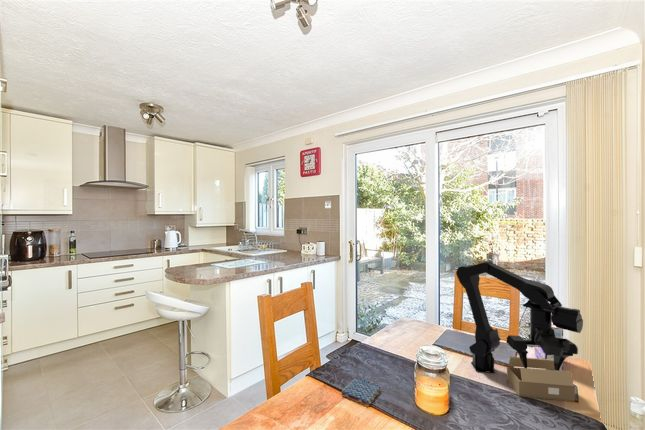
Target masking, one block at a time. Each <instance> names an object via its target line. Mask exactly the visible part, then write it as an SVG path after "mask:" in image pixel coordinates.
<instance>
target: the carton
mask: <svg viewBox="0 0 645 430" xmlns="http://www.w3.org/2000/svg"><path fill="white" fill-rule="evenodd" d="M520 368H521V367H514V366H507V367H506V381H507V383H508V384H509V385H510V386H511V388H512V389H513V391H514V392H515V393H516V394H517V397H519V398H520V397H522V398H532V399H541V400H542V399H544V400H552V401H553V400H554V401H564V402H572V403H574V402H573V401H575V402H576V385H575V383H573V385H574V386H567V385H556V384H545V383H533V382H523V381H522V376H521V369H520Z"/></svg>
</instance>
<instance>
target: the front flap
mask: <svg viewBox="0 0 645 430" xmlns="http://www.w3.org/2000/svg"><path fill="white" fill-rule="evenodd" d="M519 368H520V369H521V376H522V381H523V382H533V383H545V384H556V385H567V386H574V385H575V384H574V380H573V376H572V372H571V371H566V370H563V371H556V370H548V369H539V368H524V367H519ZM573 384H574V385H573Z"/></svg>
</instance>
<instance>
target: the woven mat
mask: <svg viewBox="0 0 645 430" xmlns="http://www.w3.org/2000/svg"><path fill="white" fill-rule="evenodd" d="M381 392H382V389H381V386H379V384H374V383H373V382H372V383H371V382H370V381H366V380H362V378H358V377H355V378H354V379H353V380H352V381H350V382H349V383H348V385H346V386H345V387H344V388H343V389H342V390H341V396H342V397H345V398H346V399H349V400H352V401H353V402H357V403H359V404H362V405H364V406H366V407H367V406H368V407H370V405H371V404H372V403H373V401H375V398H376V397H377V396H378V395H379V394H381Z"/></svg>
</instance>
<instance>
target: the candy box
mask: <svg viewBox="0 0 645 430" xmlns="http://www.w3.org/2000/svg"><path fill="white" fill-rule="evenodd" d="M552 329H554V334H555V337H556V338H562V339H564V329H561V328H557V327H556V326H555V325H553V323H552ZM534 355H535V357H536V358H538V359H551V360H554V355H546V354H545V353H544V352H543V350H542V349H541V347H534ZM547 370H552V369H547ZM559 371H564V362H563V363H562V365H561V367H560V369H559Z"/></svg>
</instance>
